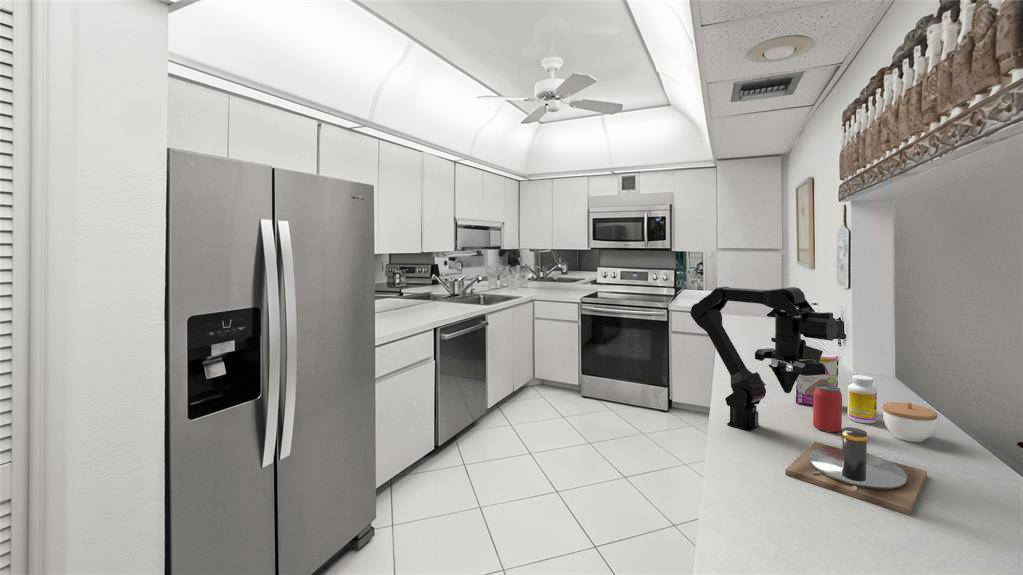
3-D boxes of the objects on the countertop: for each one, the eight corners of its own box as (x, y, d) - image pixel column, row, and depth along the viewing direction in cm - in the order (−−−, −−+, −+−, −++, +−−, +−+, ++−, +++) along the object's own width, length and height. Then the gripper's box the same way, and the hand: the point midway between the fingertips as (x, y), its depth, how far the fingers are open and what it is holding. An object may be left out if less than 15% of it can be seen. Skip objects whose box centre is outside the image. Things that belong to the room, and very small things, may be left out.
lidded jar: (938, 449, 107) (939, 413, 106) (881, 438, 114) (882, 404, 113) (934, 435, 115) (936, 401, 114) (882, 426, 122) (882, 393, 121)
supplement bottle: (878, 425, 122) (879, 381, 121) (849, 421, 125) (849, 378, 124) (874, 417, 128) (875, 375, 127) (846, 414, 131) (846, 373, 130)
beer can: (846, 433, 118) (847, 391, 117) (819, 432, 119) (820, 390, 118) (833, 424, 124) (834, 383, 123) (808, 423, 125) (809, 383, 124)
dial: (813, 446, 108) (814, 403, 107) (905, 466, 97) (906, 418, 96) (804, 473, 95) (804, 424, 94) (908, 500, 84) (910, 445, 83)
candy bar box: (795, 404, 141) (796, 355, 140) (795, 399, 145) (795, 351, 144) (838, 409, 135) (839, 358, 134) (836, 404, 139) (837, 355, 138)
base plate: (785, 474, 98) (785, 468, 98) (814, 446, 111) (814, 440, 111) (910, 515, 82) (910, 507, 81) (926, 476, 95) (926, 469, 95)
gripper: (846, 340, 105) (845, 402, 106) (790, 327, 123) (789, 381, 124) (804, 342, 104) (803, 405, 105) (753, 329, 122) (753, 383, 123)
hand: (787, 392), depth 114 cm, fingers closed
